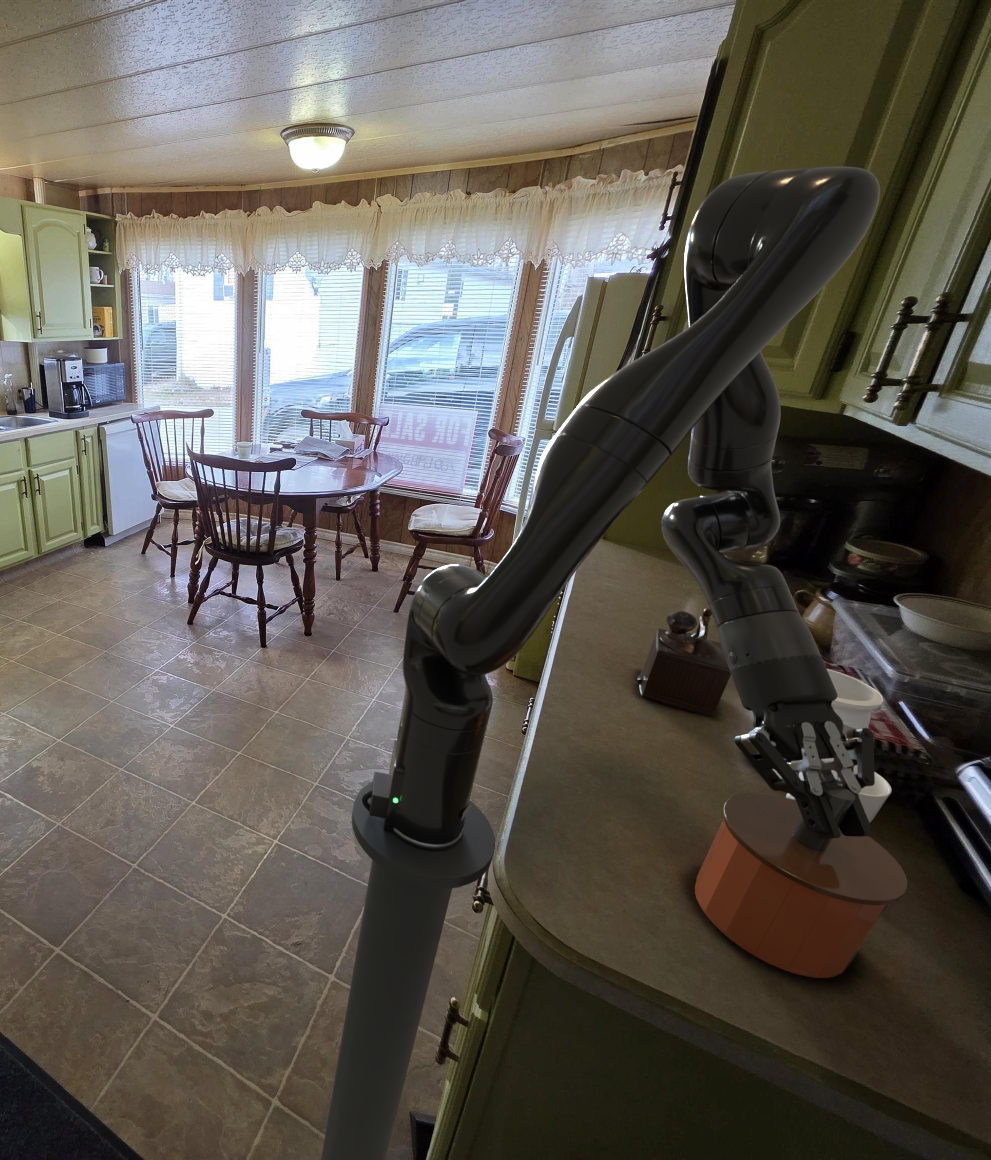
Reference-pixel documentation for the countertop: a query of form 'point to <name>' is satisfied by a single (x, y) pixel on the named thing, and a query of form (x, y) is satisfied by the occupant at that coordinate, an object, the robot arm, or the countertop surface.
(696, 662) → the manual coffee grinder
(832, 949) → the crock
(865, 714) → the jar
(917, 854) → the countertop surface
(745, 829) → the lid
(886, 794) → the white cup
